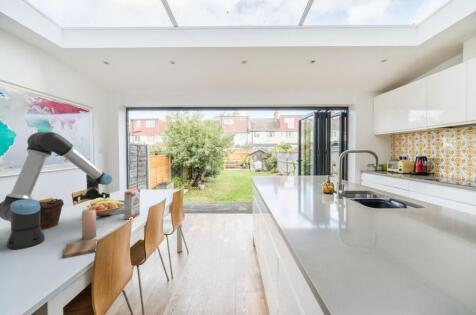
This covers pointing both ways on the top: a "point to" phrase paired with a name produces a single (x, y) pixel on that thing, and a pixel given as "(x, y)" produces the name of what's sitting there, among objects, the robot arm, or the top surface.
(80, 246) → the cutting board
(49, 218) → the brown tapered bucket
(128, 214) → the cracker box
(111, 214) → the grey carved relief
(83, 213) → the terracotta canister
